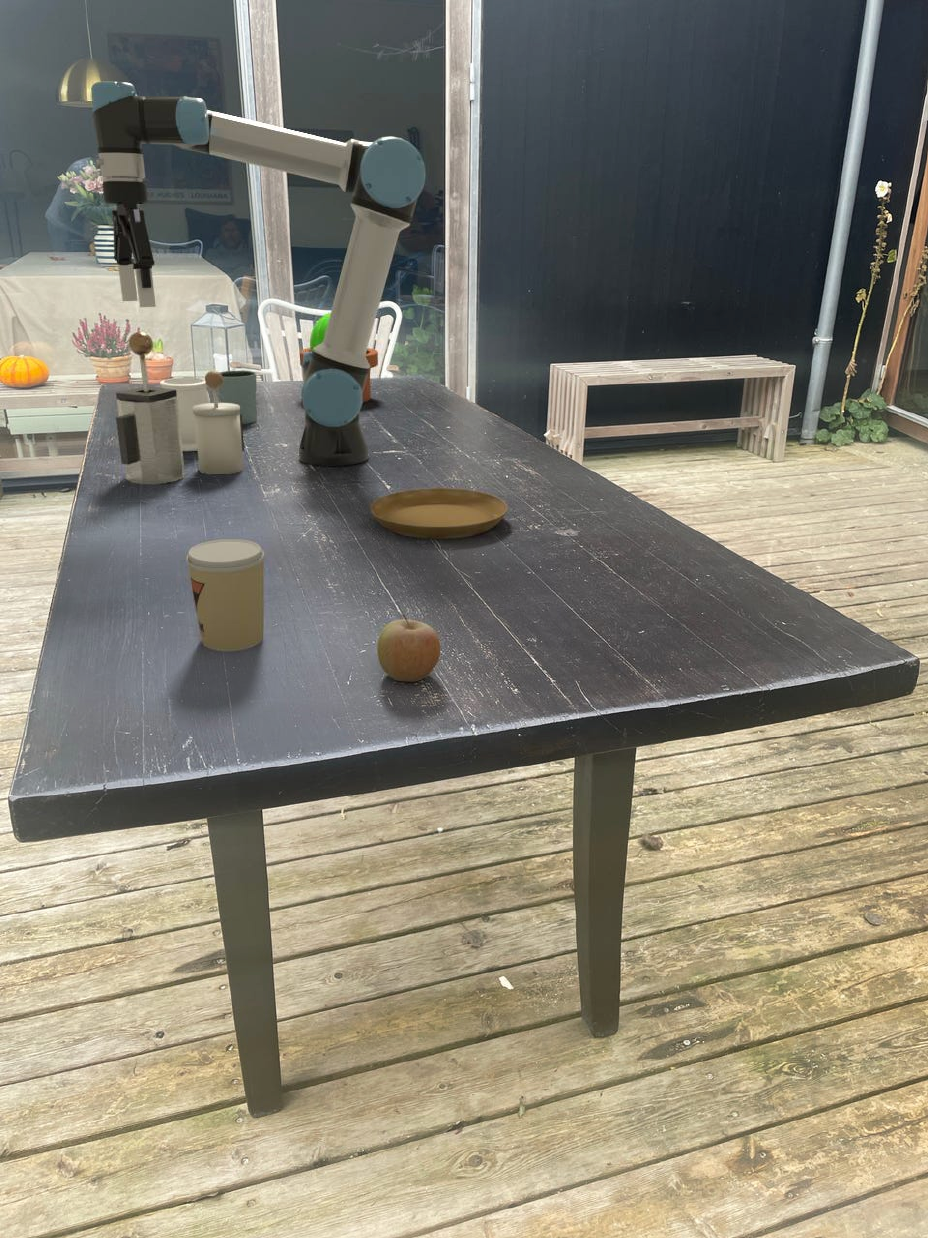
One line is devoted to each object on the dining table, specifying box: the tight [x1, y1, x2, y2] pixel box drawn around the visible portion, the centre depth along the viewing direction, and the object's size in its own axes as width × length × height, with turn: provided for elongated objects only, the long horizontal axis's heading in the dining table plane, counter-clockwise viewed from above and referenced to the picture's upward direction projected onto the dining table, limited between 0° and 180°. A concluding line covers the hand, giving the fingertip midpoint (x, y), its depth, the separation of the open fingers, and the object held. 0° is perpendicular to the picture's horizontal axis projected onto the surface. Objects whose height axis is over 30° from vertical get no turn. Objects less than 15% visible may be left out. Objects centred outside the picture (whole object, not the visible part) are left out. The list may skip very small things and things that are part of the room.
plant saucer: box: [369, 487, 508, 540], centre depth 169 cm, size 24×24×3 cm
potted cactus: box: [299, 310, 379, 404], centre depth 270 cm, size 22×22×25 cm
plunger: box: [128, 331, 154, 393], centre depth 186 cm, size 8×8×21 cm
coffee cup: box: [185, 538, 265, 653], centre depth 119 cm, size 9×9×12 cm
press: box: [115, 386, 186, 485], centre depth 189 cm, size 11×14×17 cm
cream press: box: [193, 370, 245, 475], centre depth 197 cm, size 9×12×20 cm
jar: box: [160, 377, 211, 452], centre depth 214 cm, size 11×10×15 cm
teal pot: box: [217, 369, 258, 425], centre depth 243 cm, size 10×10×12 cm
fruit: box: [376, 612, 441, 683], centre depth 111 cm, size 8×7×8 cm
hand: (138, 303), depth 180 cm, fingers open, 13 cm apart
